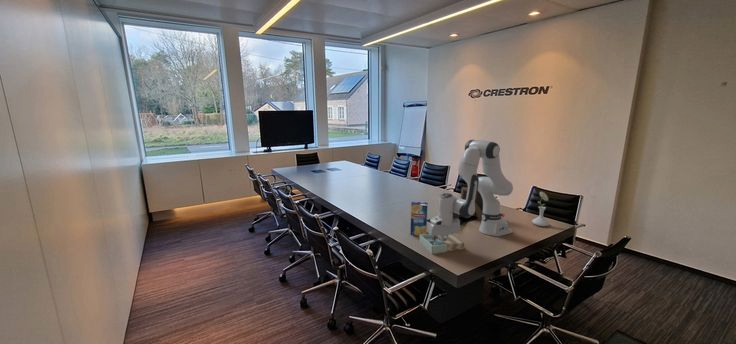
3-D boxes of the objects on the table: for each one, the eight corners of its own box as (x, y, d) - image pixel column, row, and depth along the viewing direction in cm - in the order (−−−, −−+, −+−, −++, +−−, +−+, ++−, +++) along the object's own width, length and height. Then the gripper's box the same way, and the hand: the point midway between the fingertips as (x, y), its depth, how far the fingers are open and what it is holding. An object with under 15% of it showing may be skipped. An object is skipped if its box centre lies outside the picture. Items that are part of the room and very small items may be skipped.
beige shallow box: (450, 238, 204) (450, 233, 203) (463, 248, 189) (464, 242, 188) (434, 240, 201) (434, 235, 200) (446, 251, 186) (446, 245, 185)
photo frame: (458, 214, 251) (460, 185, 246) (485, 215, 249) (488, 185, 243) (462, 221, 237) (464, 190, 231) (490, 221, 234) (493, 190, 229)
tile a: (423, 238, 197) (423, 242, 197) (426, 241, 192) (426, 245, 193) (430, 237, 198) (430, 241, 199) (433, 241, 193) (433, 244, 194)
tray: (433, 240, 202) (433, 233, 201) (446, 252, 185) (447, 244, 184) (419, 241, 199) (419, 234, 198) (431, 254, 182) (432, 246, 181)
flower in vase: (551, 228, 221) (555, 195, 216) (534, 227, 223) (538, 194, 218) (544, 221, 233) (548, 190, 228) (528, 220, 236) (532, 189, 231)
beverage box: (426, 236, 209) (427, 205, 204) (410, 234, 211) (411, 204, 207) (426, 232, 215) (427, 202, 211) (411, 230, 218) (411, 201, 213)
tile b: (438, 238, 191) (435, 239, 190) (442, 242, 186) (439, 242, 185) (438, 246, 192) (434, 246, 191) (442, 249, 187) (438, 250, 186)
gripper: (457, 216, 192) (456, 236, 194) (427, 219, 186) (427, 240, 189) (462, 219, 186) (461, 240, 188) (432, 223, 180) (431, 244, 183)
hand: (444, 240), depth 189 cm, fingers closed
